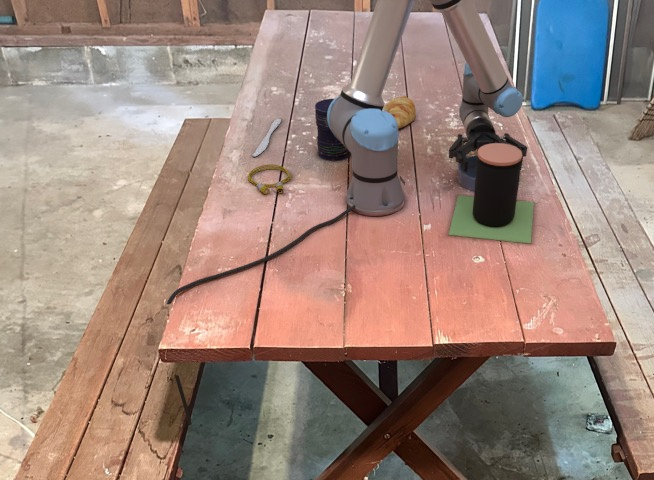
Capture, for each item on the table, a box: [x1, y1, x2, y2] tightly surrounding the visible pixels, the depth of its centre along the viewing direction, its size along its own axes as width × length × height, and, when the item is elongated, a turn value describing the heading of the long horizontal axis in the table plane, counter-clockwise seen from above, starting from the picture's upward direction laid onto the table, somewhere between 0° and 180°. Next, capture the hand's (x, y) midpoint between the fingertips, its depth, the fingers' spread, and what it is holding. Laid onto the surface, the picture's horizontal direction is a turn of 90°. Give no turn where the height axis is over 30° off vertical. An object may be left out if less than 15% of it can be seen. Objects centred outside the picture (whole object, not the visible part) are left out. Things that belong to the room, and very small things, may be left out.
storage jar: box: [314, 98, 352, 162], centre depth 203 cm, size 10×10×15 cm
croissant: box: [383, 96, 416, 130], centre depth 226 cm, size 21×10×8 cm, turn 173°
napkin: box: [448, 194, 535, 245], centre depth 178 cm, size 20×20×1 cm
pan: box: [457, 154, 479, 192], centre depth 194 cm, size 16×16×4 cm
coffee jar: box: [473, 143, 522, 227], centre depth 173 cm, size 11×11×18 cm
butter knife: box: [252, 118, 282, 157], centre depth 216 cm, size 1×27×3 cm
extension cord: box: [247, 163, 292, 195], centre depth 194 cm, size 12×16×2 cm
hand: (493, 166), depth 174 cm, fingers open, 13 cm apart
